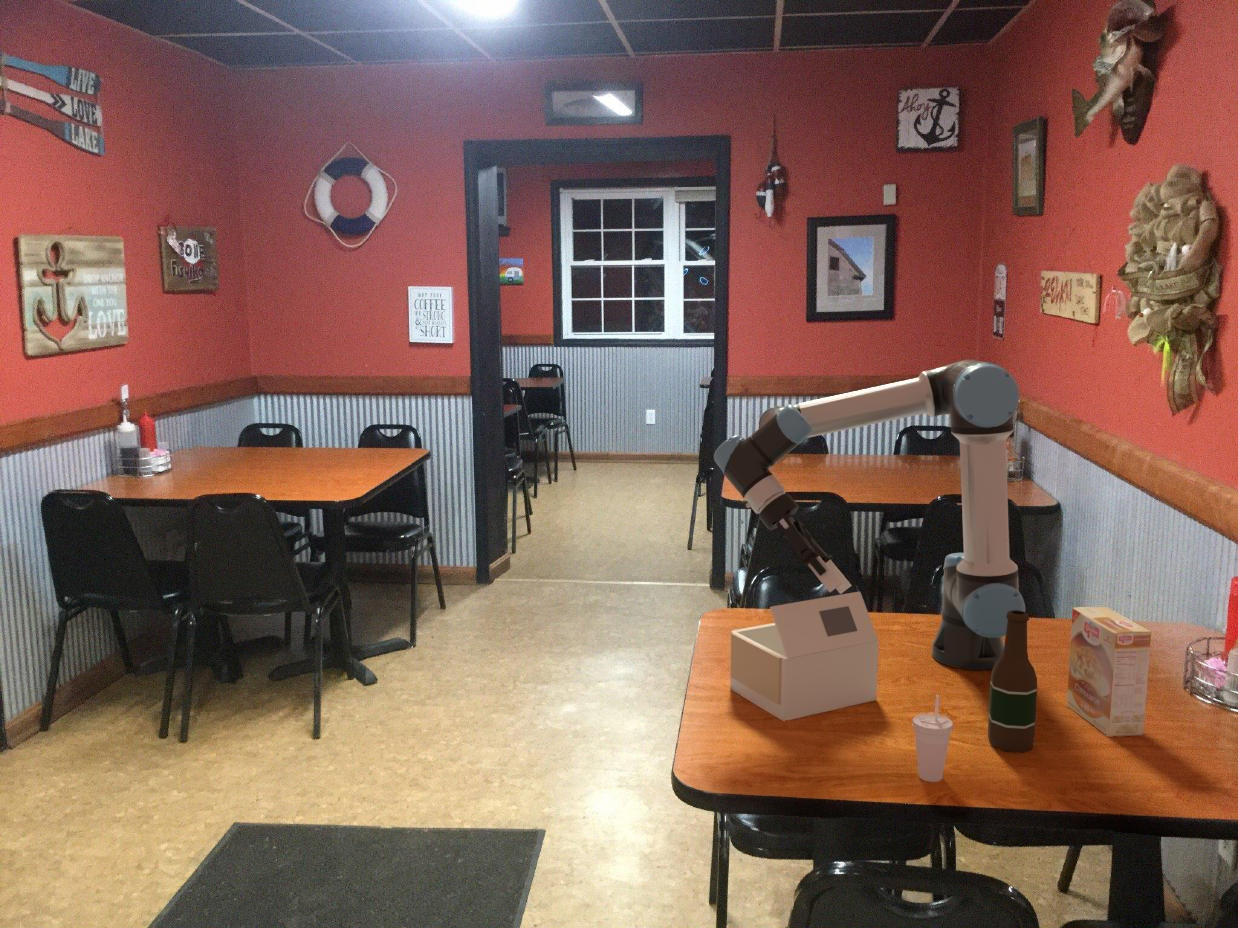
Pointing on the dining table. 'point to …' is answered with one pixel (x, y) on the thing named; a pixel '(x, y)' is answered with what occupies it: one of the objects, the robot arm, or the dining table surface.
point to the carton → (800, 674)
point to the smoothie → (932, 743)
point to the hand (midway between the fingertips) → (841, 589)
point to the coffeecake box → (1108, 670)
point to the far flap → (823, 624)
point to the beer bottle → (1013, 691)
